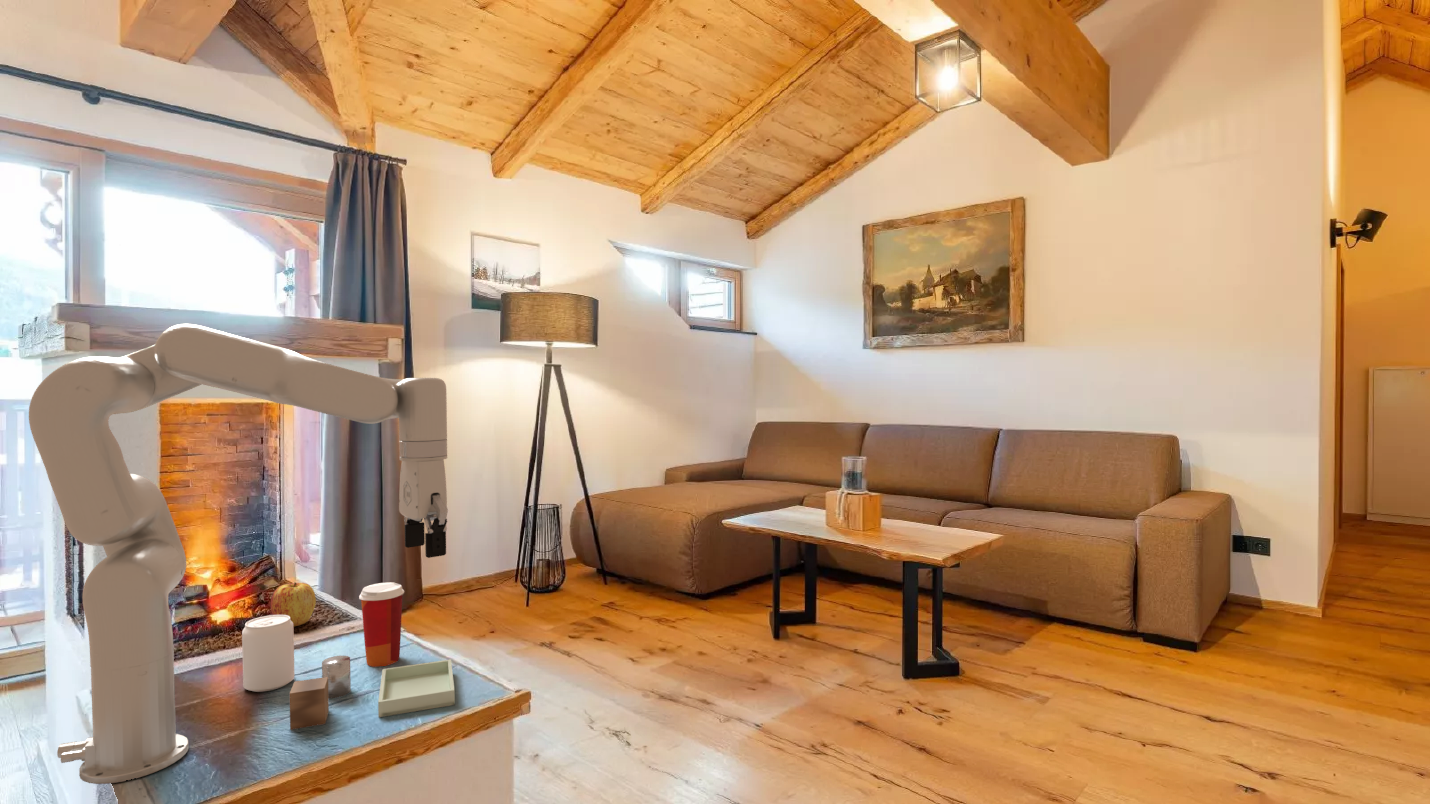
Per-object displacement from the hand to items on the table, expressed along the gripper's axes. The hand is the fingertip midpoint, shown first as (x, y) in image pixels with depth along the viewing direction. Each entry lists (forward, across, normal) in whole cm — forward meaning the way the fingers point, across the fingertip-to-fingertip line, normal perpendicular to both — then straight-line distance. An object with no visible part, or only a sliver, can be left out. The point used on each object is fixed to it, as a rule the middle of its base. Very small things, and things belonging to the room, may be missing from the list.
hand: (425, 551), depth 122 cm
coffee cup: (+28, -28, +1) cm, 39 cm away
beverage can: (+28, -31, -18) cm, 45 cm away
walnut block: (+28, -10, -16) cm, 33 cm away
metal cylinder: (+28, -18, -10) cm, 34 cm away
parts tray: (+27, -8, +1) cm, 29 cm away
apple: (+28, -65, -7) cm, 71 cm away
